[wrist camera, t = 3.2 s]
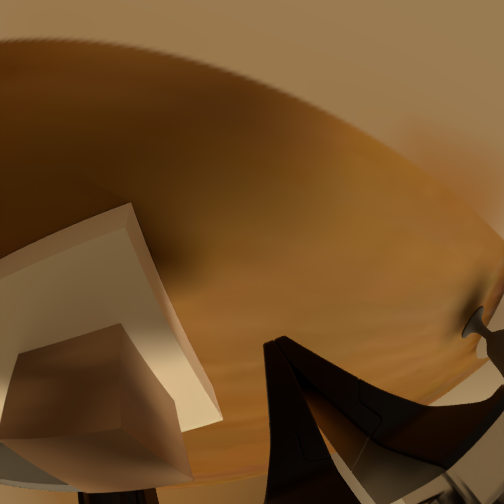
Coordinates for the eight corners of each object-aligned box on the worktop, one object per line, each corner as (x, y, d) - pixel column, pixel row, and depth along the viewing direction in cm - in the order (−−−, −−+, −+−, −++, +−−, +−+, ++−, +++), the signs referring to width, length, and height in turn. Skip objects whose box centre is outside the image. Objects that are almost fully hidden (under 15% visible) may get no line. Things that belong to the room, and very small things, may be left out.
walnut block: (84, 421, 10) (87, 492, 7) (18, 354, 7) (-3, 439, 4) (174, 401, 11) (193, 480, 8) (120, 322, 8) (121, 427, 5)
